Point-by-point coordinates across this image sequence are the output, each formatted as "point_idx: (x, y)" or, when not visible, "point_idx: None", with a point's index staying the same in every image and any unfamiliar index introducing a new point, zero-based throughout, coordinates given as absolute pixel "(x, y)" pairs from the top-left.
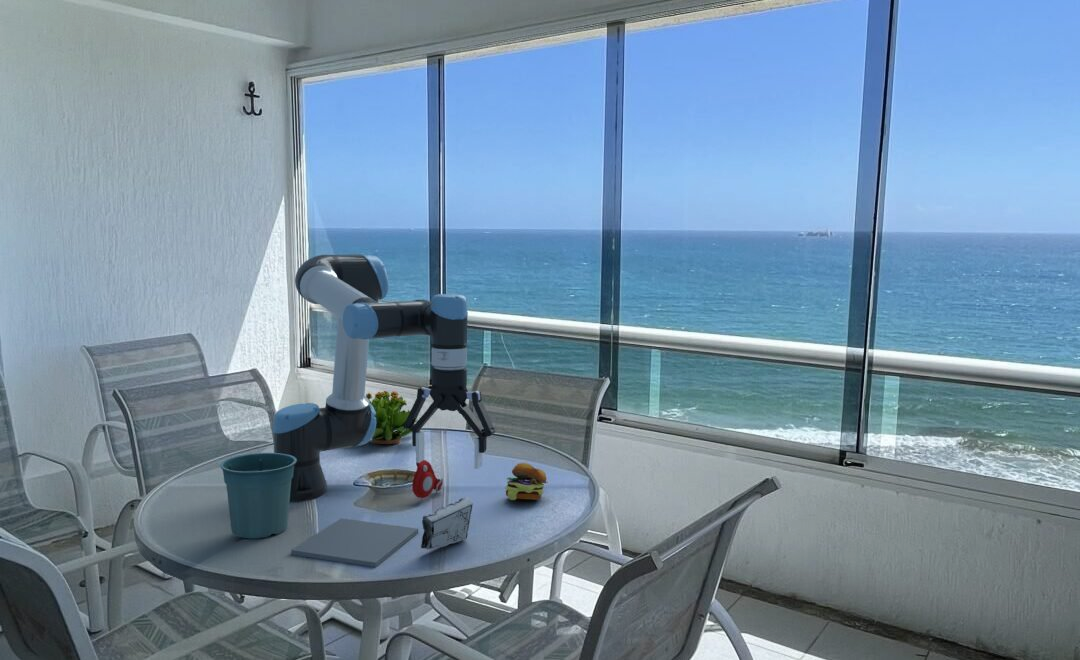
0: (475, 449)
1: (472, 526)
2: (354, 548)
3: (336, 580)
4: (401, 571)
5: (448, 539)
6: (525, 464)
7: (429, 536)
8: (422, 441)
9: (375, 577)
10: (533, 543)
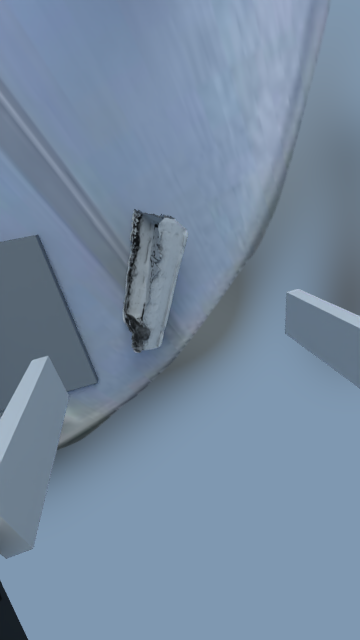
0: (345, 374)
1: (112, 130)
2: (22, 370)
3: (86, 424)
4: (137, 366)
5: (150, 279)
6: None
7: (142, 327)
8: (30, 447)
9: (121, 395)
10: (266, 164)
